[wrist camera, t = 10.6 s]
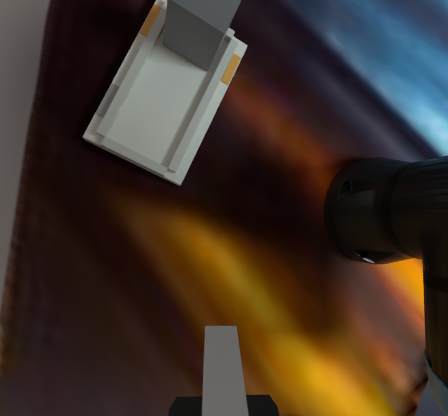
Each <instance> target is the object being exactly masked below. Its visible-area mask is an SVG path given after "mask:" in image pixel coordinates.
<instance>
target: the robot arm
mask: <svg viewBox="0 0 448 416" xmlns="http://www.w3.org/2000/svg"><path fill="white" fill-rule="evenodd" d="M325 220H326V225H327V228H328V231H329V234H330V236H331V238H332V240H333V241H334V243H335V244H336V246H337V247H338V248H339V249H340V250H341V251H342V252H343V253H344V254H346V255H347V256H349V257H350V258H352V259H354V260H357V261H361V262H366V263H370V264H388V263H392V262H397V261H402V260H407V259H412V258H417V259H422V262H423V284H424V312H425V342H426V347H425V351H424V358H425V362H426V365H427V367H428V376H429V385H430V390H431V393H432V395H433V398H434V399H435V400H436V401H437V403H438V405H439V407H440V408H441V410H442V412H443V413H444V414H445V415H446V416H448V156H444V157H439V158H434V159H428V160H423V161H418V162H413V163H410V162H405V161H399V160H393V159H388V158H380V157H377V158H368V159H364V160H360V161H356V162H353V163H351V164H349V165H348V166H346V167H345V168H343V169H342V170H341V171H340V172H339V173H338V174H337V175H336V177H335V178H334V179H333V181H332V183H331V185H330V187H329V189H328V192H327V196H326V201H325ZM168 416H279V412H278V408H277V405H276V404H275V403H274V401H273V400H272V398H271V397H270V396H269V395H246V393H245V385H244V378H243V370H242V363H241V356H240V348H239V341H238V333H237V326H205V346H204V373H203V397H177V398H176V399H175V401H174V402H173V404H172V406H171V407H170V409H169V415H168Z"/></svg>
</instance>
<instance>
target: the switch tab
mask: <svg viewBox="0 0 448 416" xmlns="http://www.w3.org/2000/svg"><path fill="white" fill-rule="evenodd" d="M240 2H241V0H167V9H166V19H165V29H164V38H163V45H164V46H166V47H167V48H169V49H171V50H172V51H174V52H176V53H177V54H179V55H181V56H182V57H184V58H186V59H187V60H189V61H191V62H193V63H194V64H196V65H198V66H199V67H201V68H203V69H204V70H206V71H208V70H209V68H210V66H211V64H212V62H213V60H214V58H215V56H216V54H217V52H218V50H219V48H220V46H221V44H222V42H223V40H224V37H225V35H226V33H227V31H228V28H229V26H230V24H231V22H232V20H233V17H234V15H235V13H236V11H237V8H238V6H239V4H240Z"/></svg>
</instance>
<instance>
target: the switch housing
mask: <svg viewBox="0 0 448 416" xmlns="http://www.w3.org/2000/svg"><path fill="white" fill-rule="evenodd" d="M166 9H167V0H156V1H155V3H154V5H153V7H152V9H151V11H150V13H149V14H148V16H147V18H146V20H145V22H144V24H143V26H142V27H141V29H140V31H139V33H138V35H137V37H136V39H135V41H134V42H133V44H132V46H131V48H130V50H129V52H128V54H127V55H126V57H125V59H124V61H123V63H122V65H121V67H120V68H119V70H118V72H117V74H116V76H115V78H114V80H113V81H112V83H111V85H110V87H109V89H108V91H107V93H106V94H105V96H104V98H103V100H102V102H101V104H100V106H99V107H98V109H97V111H96V113H95V115H94V117H93V119H92V120H91V122H90V124H89V126H88V128H87V130H86V132H85V133H84V135H83V138H84V139H85V140H86V141H88V142H90V143H92V144H94V145H96V146H98V147H100V148H102V149H104V150H106V151H108V152H111V153H113V154H115V155H117V156H119V157H121V158H123V159H125V160H127V161H129V162H131V163H133V164H135V165H137V166H139V167H141V168H143V169H145V170H147V171H149V172H151V173H153V174H155V175H157V176H159V177H162V178H164V179H166V180H168V181H170V182H172V183H174V184H176V185H178V186H180V185H181V183H182V181H183V179H184V177H185V175H186V173H187V171H188V169H189V167H190V165H191V163H192V161H193V158H194V156H195V154H196V152H197V150H198V148H199V146H200V144H201V142H202V140H203V138H204V136H205V133H206V131H207V129H208V127H209V125H210V123H211V121H212V119H213V117H214V115H215V113H216V111H217V108H218V106H219V104H220V102H221V100H222V98H223V96H224V94H225V92H226V90H227V88H228V86H229V83H230V81H231V79H232V77H233V75H234V73H235V71H236V69H237V67H238V65H239V63H240V61H241V58H242V56H243V54H244V52H245V50H246V48H247V45H246V44H244V43H243V42H241V41H239V40H238V39H236V38H235V37H233V35H234V33H235V31H233V30H232V29H230V28H228V31H227V33H226V35H225V37H224V40H223V42H222V44H221V46H220V48H219V50H218V52H217V54H216V56H215V58H214V60H213V62H212V64H211V66H210V68H209V70H208V71H206V70H204V69H203V68H201V67H199V66H198V65H196V64H194V63H193V62H191V61H189V60H187V59H186V58H184V57H182V56H181V55H179V54H177V53H176V52H174V51H172V50H171V49H169V48H167V47H166V46H164V45H163V38H164V29H165V19H166Z"/></svg>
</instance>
